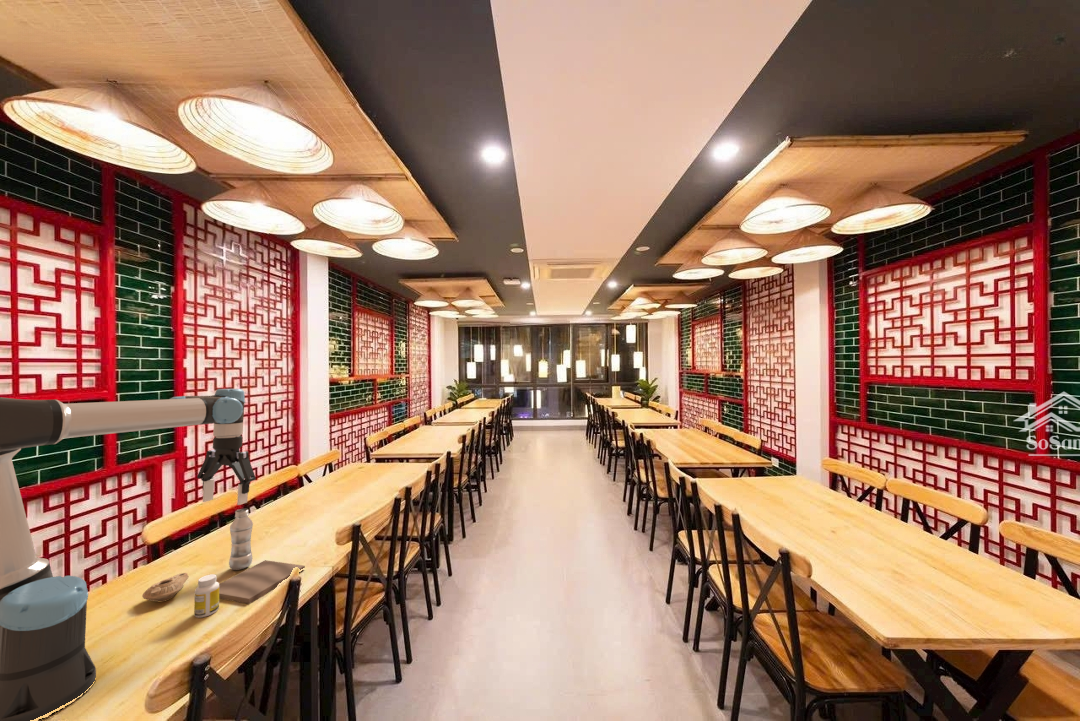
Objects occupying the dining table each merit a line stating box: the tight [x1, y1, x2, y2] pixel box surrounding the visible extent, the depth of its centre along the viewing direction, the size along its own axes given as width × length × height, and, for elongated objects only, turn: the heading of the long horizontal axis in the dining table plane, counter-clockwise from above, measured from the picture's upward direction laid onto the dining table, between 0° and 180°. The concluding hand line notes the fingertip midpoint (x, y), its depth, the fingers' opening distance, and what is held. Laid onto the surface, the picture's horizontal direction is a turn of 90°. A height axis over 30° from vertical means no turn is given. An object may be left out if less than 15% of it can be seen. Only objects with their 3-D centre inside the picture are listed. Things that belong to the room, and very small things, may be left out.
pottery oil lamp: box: [142, 572, 189, 602], centre depth 119 cm, size 9×12×7 cm
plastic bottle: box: [228, 508, 254, 571], centre depth 135 cm, size 6×7×20 cm
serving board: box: [219, 559, 306, 605], centre depth 126 cm, size 20×17×2 cm
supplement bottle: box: [193, 573, 220, 619], centre depth 110 cm, size 5×5×10 cm
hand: (224, 502), depth 124 cm, fingers open, 13 cm apart
